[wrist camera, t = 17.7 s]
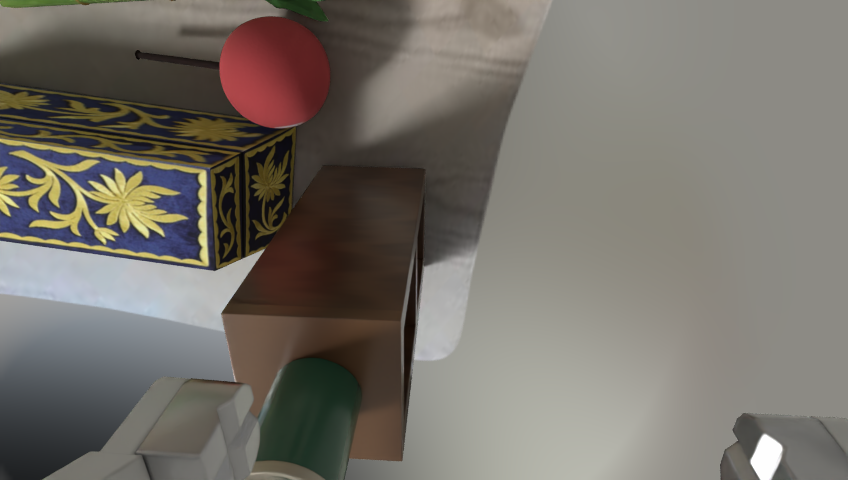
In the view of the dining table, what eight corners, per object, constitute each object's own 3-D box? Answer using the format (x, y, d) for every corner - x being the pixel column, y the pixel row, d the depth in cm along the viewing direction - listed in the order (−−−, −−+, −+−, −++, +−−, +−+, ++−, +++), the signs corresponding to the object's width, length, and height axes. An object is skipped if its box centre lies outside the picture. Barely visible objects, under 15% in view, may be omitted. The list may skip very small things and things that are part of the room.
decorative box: (-61, 73, 43) (-178, 97, 35) (296, 124, 43) (260, 159, 36) (-25, 192, 48) (-121, 236, 40) (295, 237, 48) (263, 290, 41)
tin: (366, 427, 29) (341, 553, 23) (277, 422, 29) (229, 545, 23) (362, 357, 27) (333, 476, 20) (266, 353, 27) (208, 468, 21)
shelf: (425, 168, 45) (400, 321, 25) (424, 267, 49) (402, 461, 30) (322, 165, 45) (220, 313, 26) (330, 264, 50) (249, 453, 30)
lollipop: (82, 25, 34) (299, 50, 32) (149, -14, 39) (338, 6, 38) (126, 127, 39) (314, 153, 37) (179, 80, 45) (346, 101, 43)
